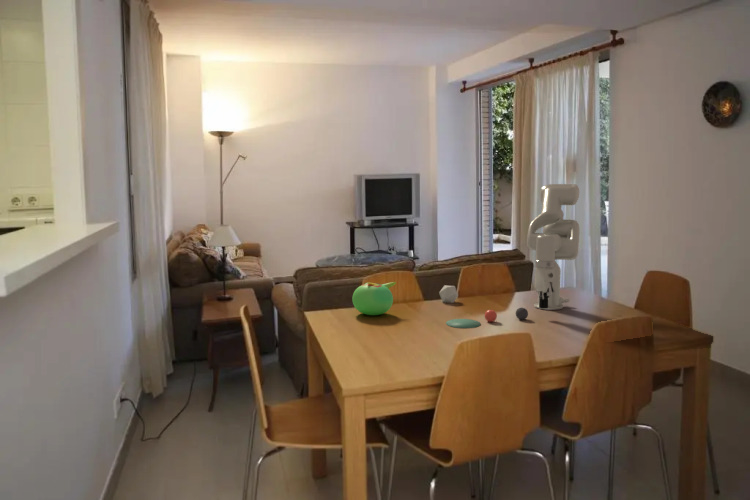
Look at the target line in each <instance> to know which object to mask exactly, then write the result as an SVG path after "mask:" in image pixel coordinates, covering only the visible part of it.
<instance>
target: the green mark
mask: <svg viewBox="0 0 750 500" xmlns="http://www.w3.org/2000/svg"><path fill="white" fill-rule="evenodd" d="M445 324H446V325H447V326H448V327H451V328H455V329H456V328H457V329H474V328H478V327H480V326H481V325H482V324H481V322H480V321H478V320H475V319H469V318H453V319H449V320H447V321H446V322H445Z"/></svg>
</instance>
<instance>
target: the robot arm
mask: <svg viewBox="0 0 750 500" xmlns="http://www.w3.org/2000/svg"><path fill="white" fill-rule="evenodd" d="M539 195H540V196H539V197H540V202H541V210H540V214H538V215H537V216H536V217H534V219H533V220H532V221H531V222H530V224H529V226H528V230H527V236H526V246H527V248H528V250H531V251H535V272H534V283H533V284H534V289H535V290H536V293H537V302H535V303H534V304H533V306H534V307H535V308H536V309H540V310H548V311H557V310H562V309H563V308H564V303H570V298H569V297H565V298H564V297H561V271H562V270H561V268H560V267H561V266H560V265H559V264H558V262H557V260H562V261H573V260H576V259H577V257H578V254H579V246H580V245H579V242H580V225H579V222H578V221H577V220H575V219H566V218H565V219H564V211H563V210H562V206H575V205H576V204H577V202H578V200H579V198H580V187H579V185H577V184H575V183H550V184H544V185H543V186H542V187H541V188H540V192H539ZM539 229H542V232H537V231H538V230H539Z"/></svg>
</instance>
